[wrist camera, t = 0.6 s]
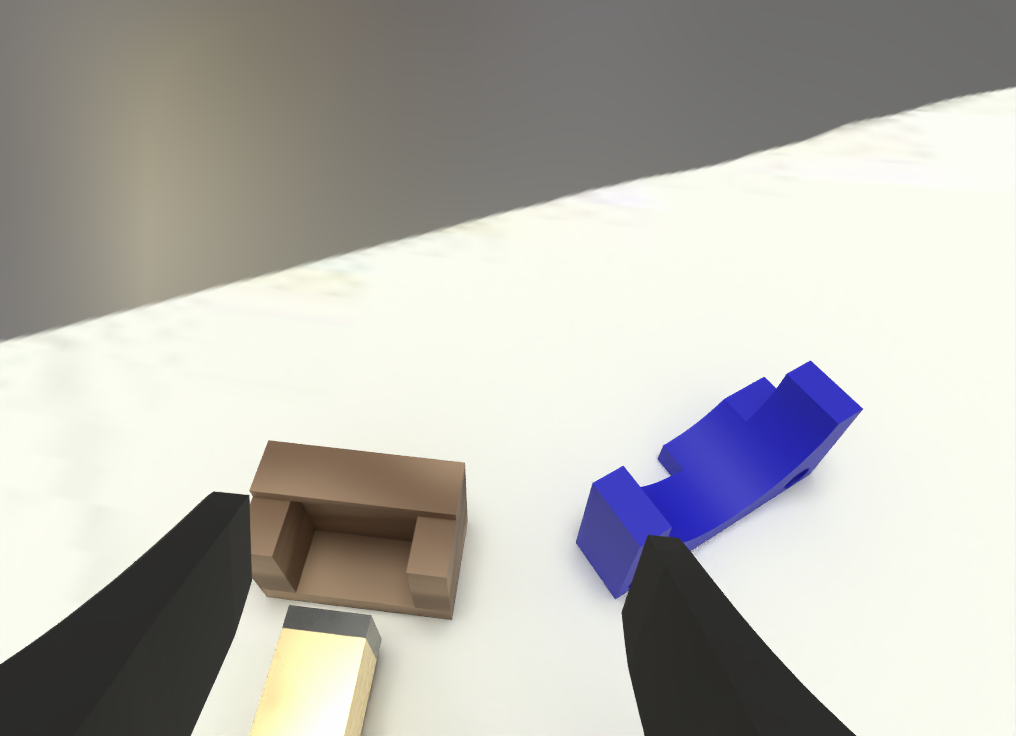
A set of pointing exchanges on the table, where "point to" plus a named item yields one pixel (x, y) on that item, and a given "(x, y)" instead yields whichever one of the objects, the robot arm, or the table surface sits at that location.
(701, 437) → the cable clip
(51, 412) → the table surface
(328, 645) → the tube
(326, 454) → the socket block
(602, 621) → the table surface
